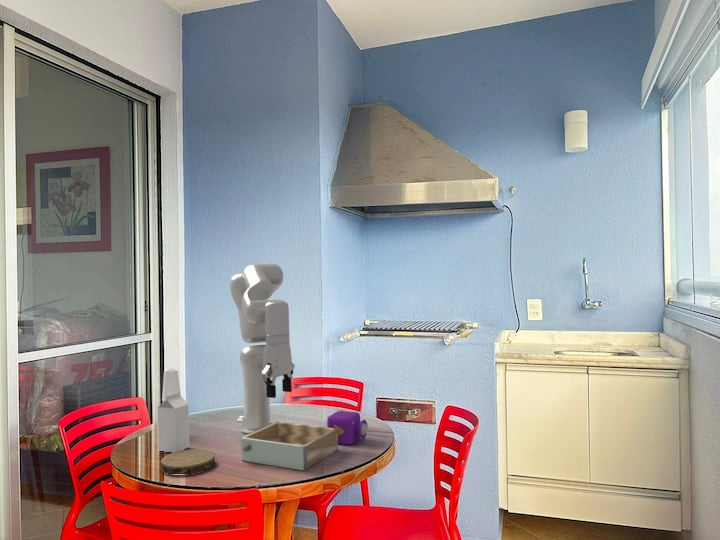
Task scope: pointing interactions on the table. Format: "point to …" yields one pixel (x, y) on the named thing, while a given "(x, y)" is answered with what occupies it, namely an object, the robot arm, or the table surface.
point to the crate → (301, 438)
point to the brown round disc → (188, 461)
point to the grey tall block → (170, 383)
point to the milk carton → (173, 424)
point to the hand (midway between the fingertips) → (279, 394)
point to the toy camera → (347, 426)
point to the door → (274, 453)
